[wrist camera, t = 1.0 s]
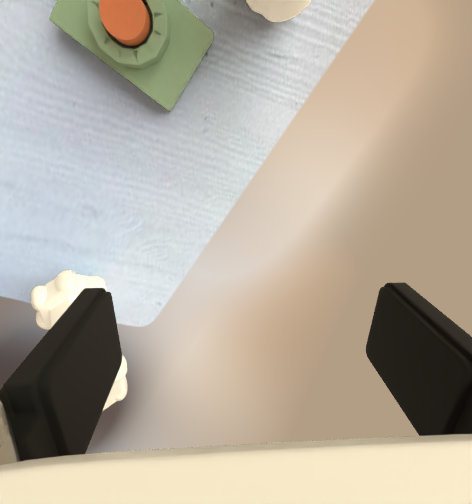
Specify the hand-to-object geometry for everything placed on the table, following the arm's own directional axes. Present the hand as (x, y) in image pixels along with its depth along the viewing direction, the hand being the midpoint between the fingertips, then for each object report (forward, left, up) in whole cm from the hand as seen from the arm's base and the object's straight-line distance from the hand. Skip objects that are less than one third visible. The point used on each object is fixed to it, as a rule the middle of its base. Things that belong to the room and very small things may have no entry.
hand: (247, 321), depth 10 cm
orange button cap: (-15, +7, -22) cm, 28 cm away
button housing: (-15, +7, -26) cm, 31 cm away
